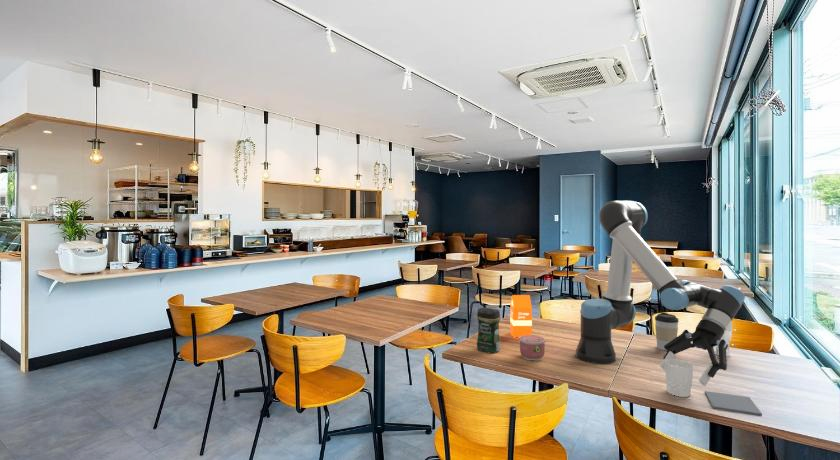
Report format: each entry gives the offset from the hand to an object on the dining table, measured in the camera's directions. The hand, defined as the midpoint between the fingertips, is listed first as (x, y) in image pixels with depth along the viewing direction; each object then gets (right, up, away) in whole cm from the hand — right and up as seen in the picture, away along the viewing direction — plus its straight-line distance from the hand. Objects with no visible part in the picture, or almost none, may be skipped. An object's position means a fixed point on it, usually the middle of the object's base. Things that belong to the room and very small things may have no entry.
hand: (681, 375), depth 139 cm
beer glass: (+40, -4, +38) cm, 55 cm away
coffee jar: (-56, -5, +45) cm, 72 cm away
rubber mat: (+11, -6, -7) cm, 15 cm away
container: (-40, -5, +36) cm, 54 cm away
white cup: (0, -6, +1) cm, 6 cm away
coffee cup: (+22, -4, +46) cm, 51 cm away
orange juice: (-37, -4, +66) cm, 76 cm away
